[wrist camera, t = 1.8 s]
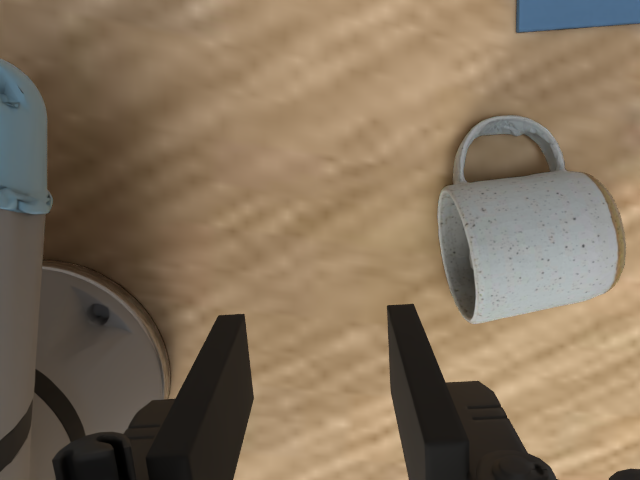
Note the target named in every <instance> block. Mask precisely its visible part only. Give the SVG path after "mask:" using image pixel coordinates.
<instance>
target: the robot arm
mask: <svg viewBox="0 0 640 480" xmlns="http://www.w3.org/2000/svg"><path fill="white" fill-rule="evenodd" d="M52 204H53V198H52V196H51V194H50V192H49V191H48V190H47V112H46V107H45V104H44V101H43V98H42V96H41V94H40V92H39V90H38V89H37V87H36V86H35V84H34V83H33V82H32V81H31V79H30V78H29V77H28V76H27V75H25V74H24V73H23V72H22V71H21V70H20V69H18V68H17V67H15V66H14V65H12V64H11V63H9V62H7V61H5V60H3V59H0V480H233V478H234V474H235V470H236V466H237V462H238V458H239V454H240V450H241V446H242V443H243V439H244V435H245V431H246V427H247V423H248V419H249V415H250V411H251V407H252V403H253V399H254V396H253V387H252V378H251V369H250V360H249V351H248V342H247V333H246V324H245V315H244V314H236V315H219V316H218V317H217V319H216V321H215V323H214V325H213V327H212V329H211V331H210V333H209V335H208V337H207V339H206V341H205V343H204V345H203V347H202V348H201V350H200V352H199V354H198V356H197V358H196V360H195V362H194V364H193V366H192V368H191V370H190V372H189V374H188V376H187V378H186V380H185V382H184V383H183V385H182V387H181V389H180V391H179V393H178V395H177V397H176V399H168V396H169V389H170V366H169V360H168V355H167V351H166V348H165V345H164V342H163V340H162V337H161V335H160V333H159V331H158V329H157V327H156V325H155V324H154V322H153V320H152V319H151V317H150V316H149V315H148V313H147V312H146V311H145V309H144V308H143V307H142V306H141V305H140V304H139V303H138V302H137V301H136V299H135V298H134V297H133V296H131V295H130V294H129V293H128V292H127V291H126V290H124V289H123V288H122V287H120V286H119V285H118V284H116V283H115V282H113V281H112V280H110V279H108V278H107V277H105V276H103V275H101V274H99V273H97V272H95V271H93V270H90V269H87V268H85V267H82V266H79V265H75V264H71V263H67V262H61V261H54V260H43V246H44V231H45V216H46V213H50V210H51V208H52ZM387 316H388V339H389V363H390V386H391V395H392V400H393V405H394V409H395V414H396V419H397V424H398V429H399V433H400V438H401V443H402V448H403V453H404V458H405V462H406V467H407V472H408V477H409V480H558V479H556V476H555V474H554V473H553V471H552V469H551V468H550V466H549V465H547V464H546V463H545V462H543V461H542V460H541V459H540V458H537V457H535V456H533V455H530V454H528V453H527V451H526V449H525V447H524V446H523V444H522V442H521V440H520V438H519V437H518V435H517V433H516V431H515V429H514V428H513V426H512V424H511V422H510V420H509V419H508V418H507V415H506V413H505V411H504V410H503V408H502V407H501V404H500V403H499V401H498V399H497V397H496V395H495V394H494V392H493V391H492V390H490V389H489V388H488V387H486V386H485V385H483V384H482V383H481V382H479V381H468V382H449V383H445V380H444V378H443V375H442V373H441V370H440V368H439V365H438V363H437V361H436V358H435V356H434V353H433V351H432V348H431V346H430V343H429V341H428V338H427V336H426V333H425V331H424V329H423V326H422V324H421V321H420V319H419V316H418V314H417V311H416V309H415V306H414V304H405V305H388V306H387ZM609 480H640V469H627V470H623V471H618V472H616V473H615V474H614V475H612V476H611V477H610V478H609Z"/></svg>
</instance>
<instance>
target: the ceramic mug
mask: <svg viewBox="0 0 640 480" xmlns="http://www.w3.org/2000/svg"><path fill="white" fill-rule="evenodd" d="M495 134H511V135H514V136H520V135H522V134H525V135H527V136H529V137H530V138H531V139H532V140H533V141H535V142H536V143H537V144H538V145H539V147H540V148H541V151H542V152H543V154H544V155H545V158H546V160H547V163H548V165H549V169H550V172H545V173H538V174H533V175H528V176H522V177H512V178H502V179H495V180H485V181H476V182H472V183H470V182H467V181H466V180H465V178H464V171H463V169H464V165H465V158H466V153H467V150H468V148H469V145H470V144H471V143H472V141H473V140H474V139H475V138H477V137H479V136H482V135H495ZM437 218H438V227H439V241H440V248H441V255H442V259H443V265H444V268H445V273H446V277H447V281H448V284H449V288H450V291H451V294H452V296H453V298H454V301H455V304H456V306H457V307H458V310H459V311H460V313H461V314H462V316H463V317H464V318H465V319H466V320H467V321H468V322H469V323H473V324H477V323H483V322H487V321H492V320H497V319H501V318H505V317H511V316H516V315H520V314H525V313H529V312H534V311H539V310H543V309H548V308H553V307H558V306H562V305H568V304H573V303H578V302H582V301H586V300H589V299H591V298H594V297H596V296H599V295H601V294H604V293H606V292H607V291H609V290H610V289H611V288H612V287H614V286H615V284H616V283H617V281H618V280H619V278H620V275H621V273H622V270H623V268H624V265H625V255H626V242H625V232H624V228H623V224H622V220H621V216H620V213H619V210H618V208H617V205H616V203H615V201H614V199H613V197H612V196H611V194H610V193H609V192H608V190H607V189H606V188H605V187H604V186H603V184H602V183H601V182H599V181H598V180H597V179H595V178H594V177H593V176H591V175H589V174H587V173H583V172H569V171H567V170H566V169H565V162H564V159H563V154H562V152H561V150H560V147H559V145H558V143H557V141H556V140H555V138H554V137H553V136H552V134H551V133H550V132H549V131H548V130H547V129H546V128H545V127H543V126H542V125H540V124H539V123H537V122H535V121H533V120H531V119H529V118H525V117H521V116H514V115H507V116H495V117H492V118H489V119H485V120H483V121H481V122H479V123H478V124H477V125H476V126H474V127H473V128H472V129H471V130H470V131H469V132H468V134H467V135H466V136H465V138H464V140H463V141H462V143H461V144H460V146H459V148H458V151H457V153H456V156H455V161H454V168H453V185H448V186H446V187H444V188H443V189H442V190H441V193H440V197H439V201H438V214H437Z"/></svg>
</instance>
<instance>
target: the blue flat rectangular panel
mask: <svg viewBox="0 0 640 480" xmlns="http://www.w3.org/2000/svg"><path fill="white" fill-rule="evenodd" d="M639 23H640V0H517V12H516V32H517V33H520V32H533V31H547V30H560V29H573V28H586V27H600V26H613V25H626V24H639Z"/></svg>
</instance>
